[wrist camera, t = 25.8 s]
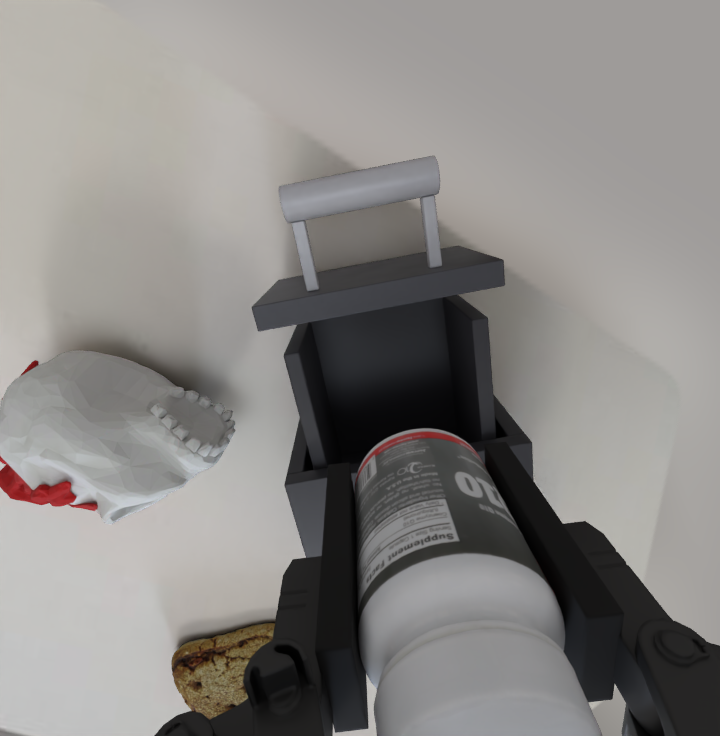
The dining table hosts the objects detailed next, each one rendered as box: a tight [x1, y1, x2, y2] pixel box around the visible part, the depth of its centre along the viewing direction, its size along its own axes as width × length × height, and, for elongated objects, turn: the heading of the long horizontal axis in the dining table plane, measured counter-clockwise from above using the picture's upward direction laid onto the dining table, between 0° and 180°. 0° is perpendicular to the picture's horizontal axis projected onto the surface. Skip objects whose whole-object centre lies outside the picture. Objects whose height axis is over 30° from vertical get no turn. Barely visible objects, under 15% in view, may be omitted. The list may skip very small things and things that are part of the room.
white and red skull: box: [0, 350, 235, 524], centre depth 26 cm, size 9×11×15 cm
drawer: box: [252, 156, 505, 470], centre depth 24 cm, size 18×12×8 cm, turn 10°
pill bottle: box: [354, 428, 602, 736], centre depth 11 cm, size 5×5×8 cm
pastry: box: [172, 623, 275, 720], centre depth 39 cm, size 17×17×3 cm
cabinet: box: [285, 395, 533, 558], centre depth 28 cm, size 15×13×10 cm
